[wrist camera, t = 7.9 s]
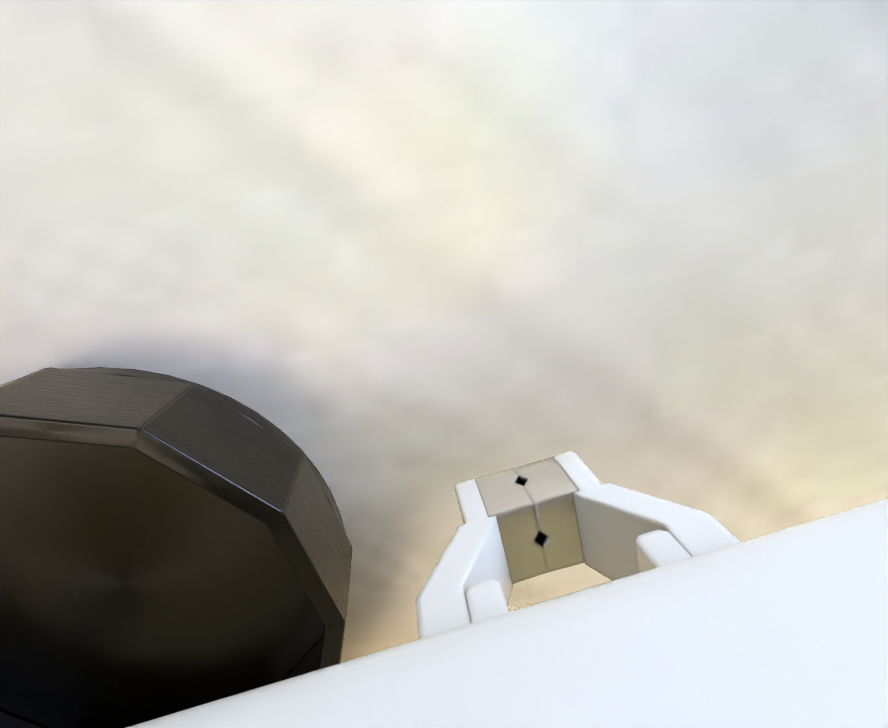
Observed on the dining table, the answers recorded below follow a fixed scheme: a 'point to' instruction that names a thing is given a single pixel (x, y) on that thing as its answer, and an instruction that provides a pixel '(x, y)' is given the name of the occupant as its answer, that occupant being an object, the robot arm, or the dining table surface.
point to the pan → (155, 550)
